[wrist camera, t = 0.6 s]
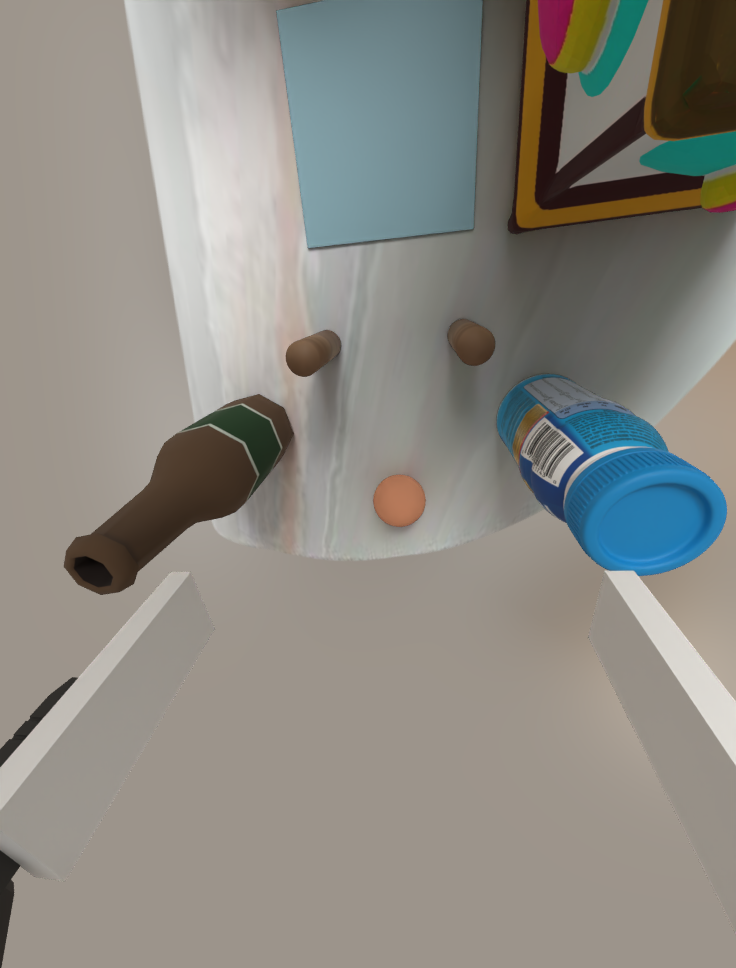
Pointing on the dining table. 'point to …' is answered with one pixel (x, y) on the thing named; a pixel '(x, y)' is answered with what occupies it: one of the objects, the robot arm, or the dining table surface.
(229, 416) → the beer bottle
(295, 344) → the post
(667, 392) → the dining table surface
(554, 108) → the decorative lantern
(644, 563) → the beverage bottle
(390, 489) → the ball
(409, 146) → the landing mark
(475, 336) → the post
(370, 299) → the dining table surface
